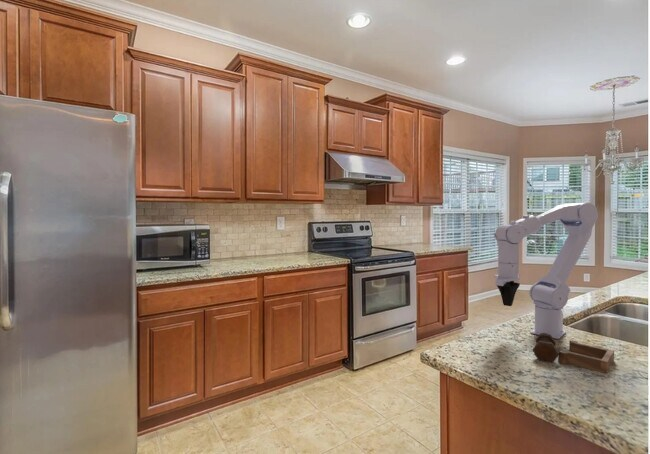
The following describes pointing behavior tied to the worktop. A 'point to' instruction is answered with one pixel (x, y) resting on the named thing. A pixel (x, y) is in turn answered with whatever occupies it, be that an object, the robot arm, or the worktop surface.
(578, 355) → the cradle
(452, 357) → the worktop surface
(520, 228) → the robot arm
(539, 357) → the bolt
